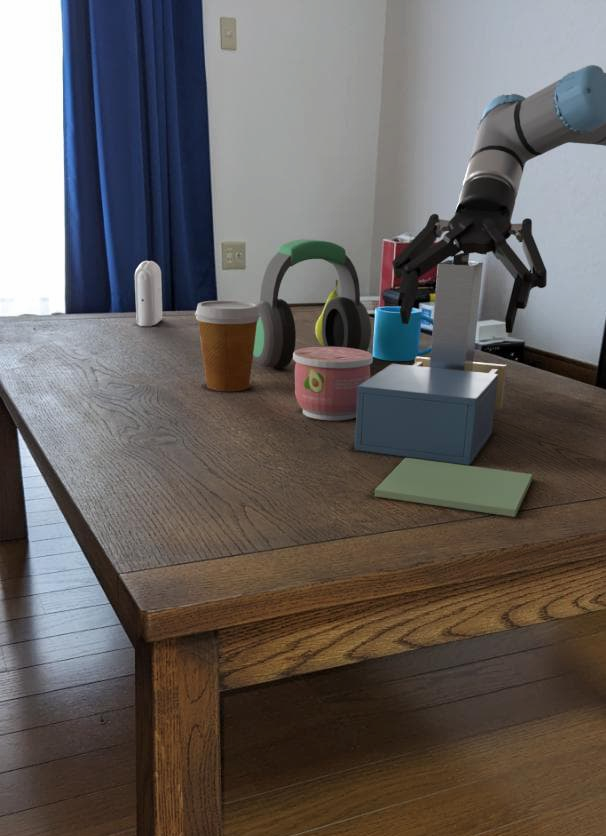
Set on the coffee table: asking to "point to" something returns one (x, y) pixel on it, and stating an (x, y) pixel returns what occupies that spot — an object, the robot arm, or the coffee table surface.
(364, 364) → the container
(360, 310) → the headphones
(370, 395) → the cabinet
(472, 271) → the silver box
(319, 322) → the fruit
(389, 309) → the mug
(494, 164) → the robot arm
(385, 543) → the coffee table surface
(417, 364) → the drawer
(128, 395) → the coffee table surface
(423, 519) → the coffee table surface
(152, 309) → the white pill-shaped pillar
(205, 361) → the disposable coffee cup
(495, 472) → the mat
